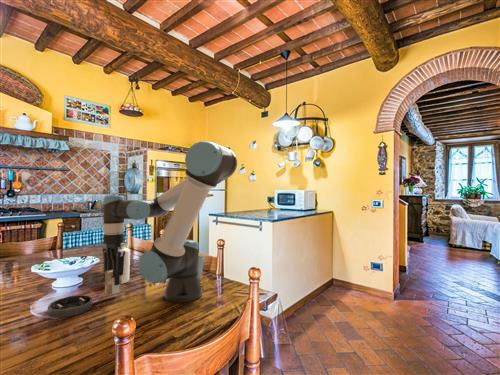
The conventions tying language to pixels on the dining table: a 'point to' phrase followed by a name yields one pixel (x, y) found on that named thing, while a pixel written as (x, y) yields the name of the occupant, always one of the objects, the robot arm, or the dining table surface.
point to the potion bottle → (125, 264)
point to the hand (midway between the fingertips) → (113, 291)
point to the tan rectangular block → (109, 282)
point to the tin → (70, 306)
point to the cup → (200, 266)
